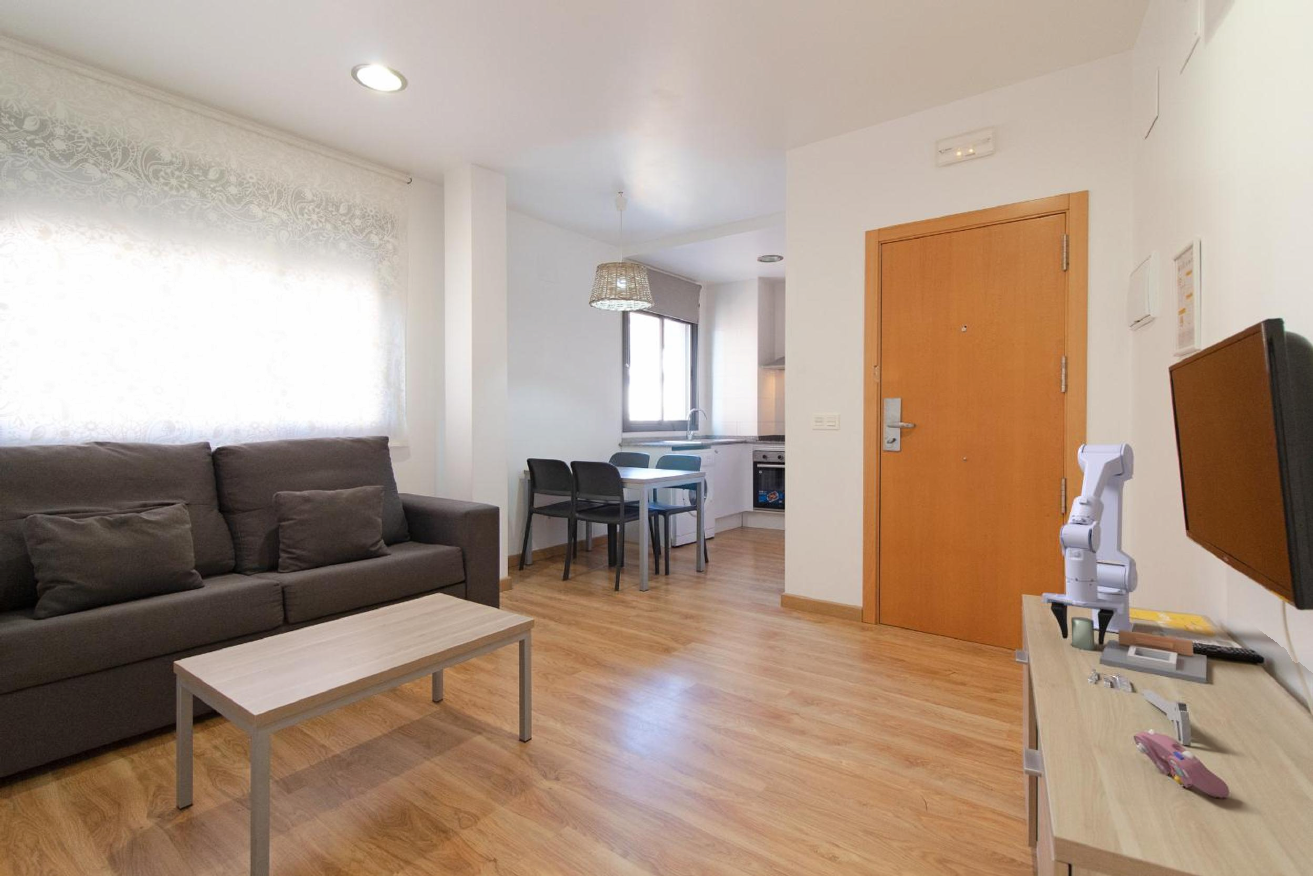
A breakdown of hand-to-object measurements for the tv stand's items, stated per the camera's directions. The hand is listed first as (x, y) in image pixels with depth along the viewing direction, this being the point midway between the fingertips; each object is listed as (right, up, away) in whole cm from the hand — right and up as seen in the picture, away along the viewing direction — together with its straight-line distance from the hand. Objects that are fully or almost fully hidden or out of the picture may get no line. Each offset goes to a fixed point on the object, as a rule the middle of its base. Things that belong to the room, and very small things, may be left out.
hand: (1083, 640), depth 132 cm
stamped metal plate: (-8, -2, -18) cm, 20 cm away
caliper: (-10, -2, -33) cm, 34 cm away
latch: (+11, 0, -6) cm, 12 cm away
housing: (+7, -1, -10) cm, 12 cm away
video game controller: (-23, -2, -50) cm, 55 cm away
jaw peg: (0, -1, 0) cm, 1 cm away
